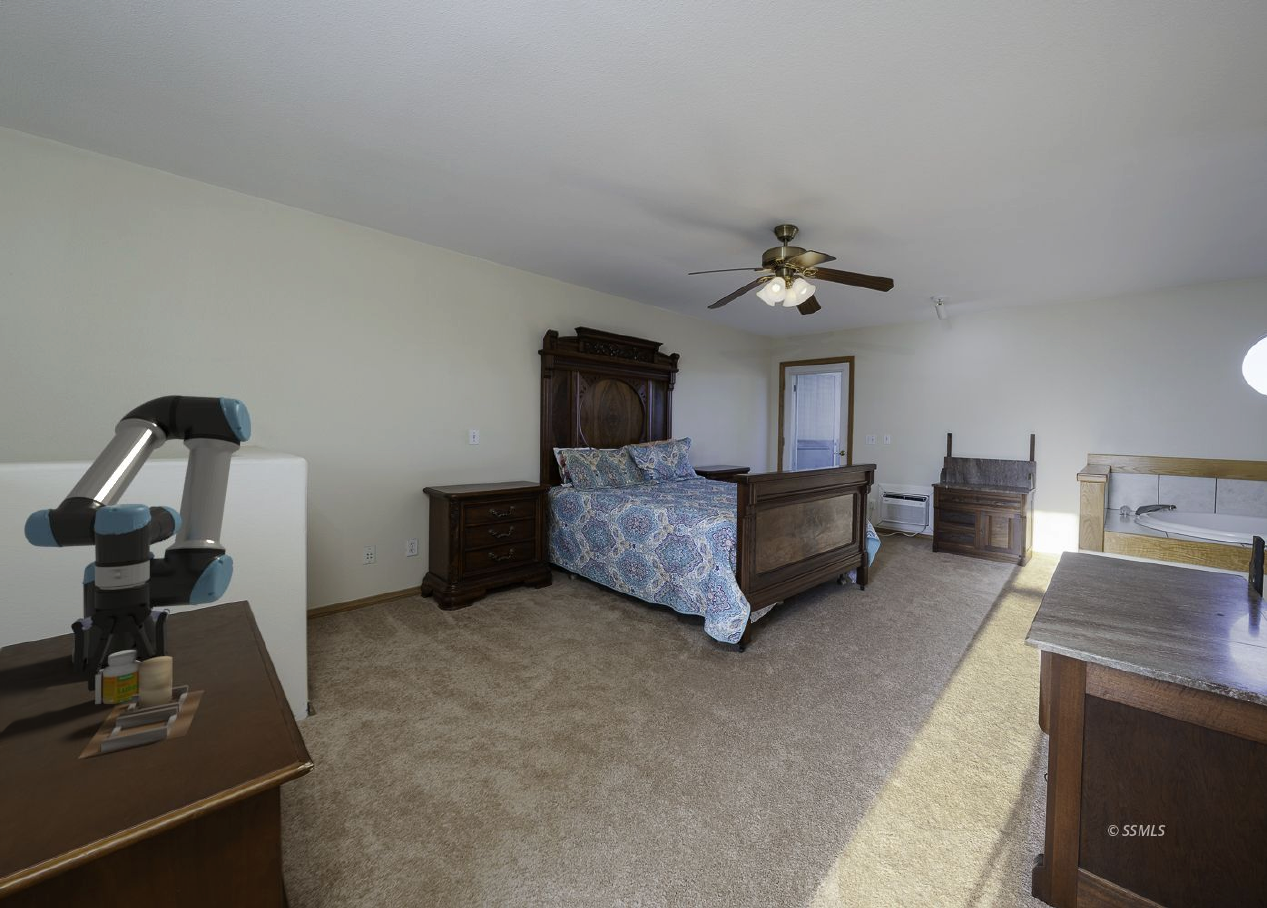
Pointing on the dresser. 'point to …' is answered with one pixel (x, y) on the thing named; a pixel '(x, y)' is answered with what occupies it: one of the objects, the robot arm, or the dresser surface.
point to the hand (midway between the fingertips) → (122, 701)
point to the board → (145, 723)
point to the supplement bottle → (121, 677)
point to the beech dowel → (155, 682)
